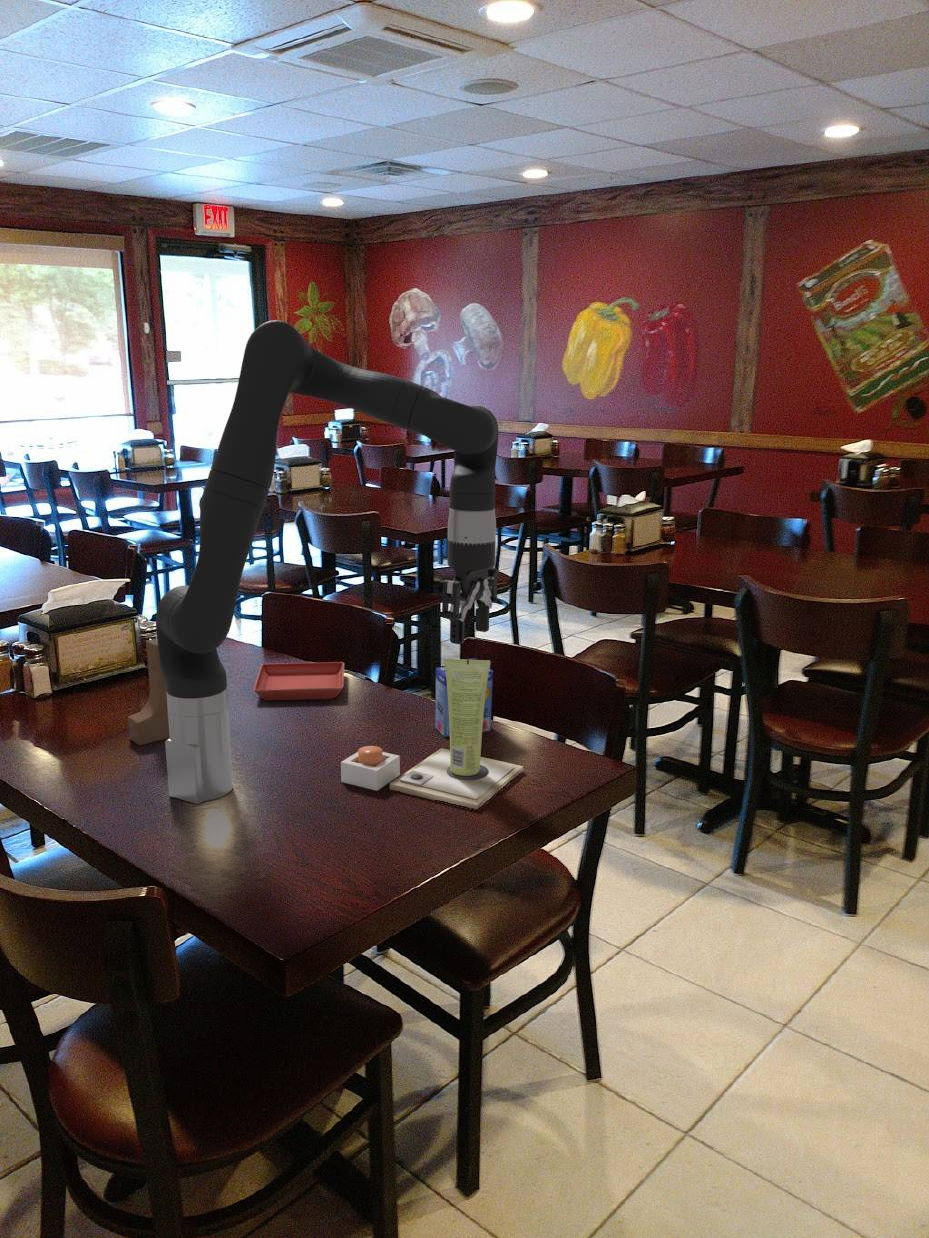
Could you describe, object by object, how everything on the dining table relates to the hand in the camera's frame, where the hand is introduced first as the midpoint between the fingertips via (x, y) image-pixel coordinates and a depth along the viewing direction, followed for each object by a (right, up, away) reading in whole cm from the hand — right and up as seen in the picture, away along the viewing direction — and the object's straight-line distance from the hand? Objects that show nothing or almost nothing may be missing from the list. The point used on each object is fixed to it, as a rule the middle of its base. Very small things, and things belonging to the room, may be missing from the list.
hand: (469, 637), depth 156 cm
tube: (-1, -23, +6) cm, 24 cm away
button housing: (-16, -24, +6) cm, 29 cm away
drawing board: (-2, -24, +6) cm, 25 cm away
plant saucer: (-35, -12, +50) cm, 62 cm away
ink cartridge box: (-1, -18, +28) cm, 33 cm away
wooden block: (-57, -19, +23) cm, 64 cm away
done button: (-16, -22, +6) cm, 28 cm away
